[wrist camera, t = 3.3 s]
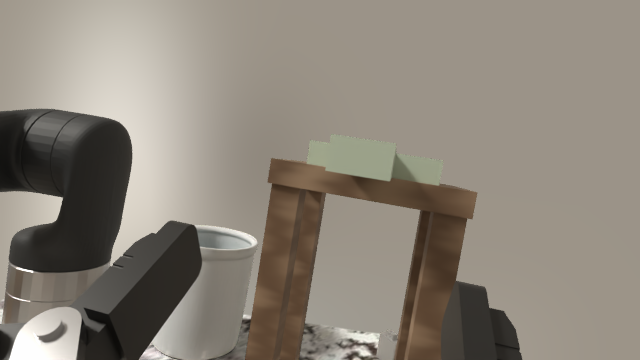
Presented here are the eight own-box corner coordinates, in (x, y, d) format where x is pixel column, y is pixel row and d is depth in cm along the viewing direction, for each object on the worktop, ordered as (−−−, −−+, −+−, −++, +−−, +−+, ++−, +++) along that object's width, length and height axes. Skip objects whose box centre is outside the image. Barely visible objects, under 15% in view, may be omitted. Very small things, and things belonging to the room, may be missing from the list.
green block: (260, 159, 21) (266, 124, 21) (325, 165, 40) (328, 147, 40) (464, 194, 19) (471, 154, 19) (428, 182, 38) (432, 163, 38)
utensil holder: (251, 326, 69) (265, 233, 68) (229, 371, 54) (247, 254, 53) (173, 312, 69) (186, 220, 68) (130, 354, 54) (146, 237, 53)
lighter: (375, 355, 65) (383, 311, 65) (383, 354, 66) (390, 311, 66) (403, 379, 59) (412, 331, 59) (411, 377, 60) (419, 330, 60)
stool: (214, 524, 32) (271, 158, 30) (266, 424, 45) (308, 162, 43) (402, 596, 29) (477, 192, 27) (399, 465, 42) (451, 185, 40)
